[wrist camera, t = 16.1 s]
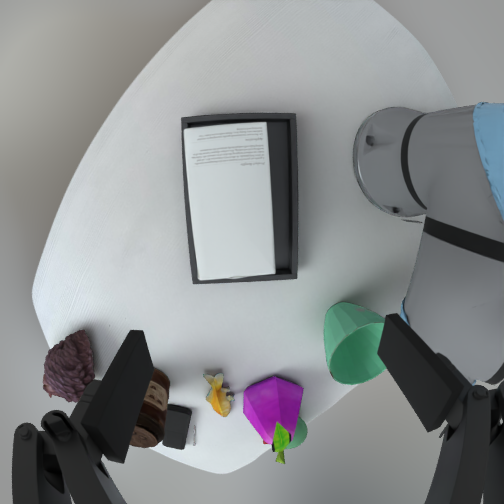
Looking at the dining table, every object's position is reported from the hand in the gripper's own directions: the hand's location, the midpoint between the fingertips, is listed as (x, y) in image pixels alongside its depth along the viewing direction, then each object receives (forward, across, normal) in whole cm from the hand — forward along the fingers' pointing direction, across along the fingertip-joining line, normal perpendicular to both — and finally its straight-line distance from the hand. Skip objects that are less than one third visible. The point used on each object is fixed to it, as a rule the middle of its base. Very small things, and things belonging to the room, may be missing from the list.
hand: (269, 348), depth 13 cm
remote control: (+22, -16, -37) cm, 46 cm away
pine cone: (+22, -33, -20) cm, 44 cm away
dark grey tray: (+22, -1, +5) cm, 22 cm away
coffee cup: (+22, -18, -23) cm, 36 cm away
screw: (+22, -13, -40) cm, 47 cm away
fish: (+21, -3, -26) cm, 34 cm away
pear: (+22, +3, -27) cm, 35 cm away
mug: (+22, +15, -13) cm, 30 cm away
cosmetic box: (+18, -2, +14) cm, 22 cm away
